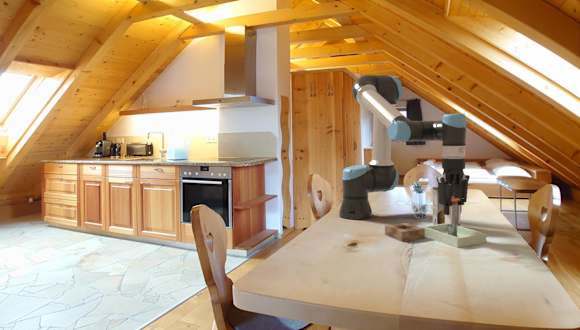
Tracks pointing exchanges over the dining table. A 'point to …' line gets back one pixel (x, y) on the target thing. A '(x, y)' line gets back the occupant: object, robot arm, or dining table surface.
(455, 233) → the pin
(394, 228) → the socket block
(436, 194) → the coffee box
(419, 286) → the dining table surface
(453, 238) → the tray
